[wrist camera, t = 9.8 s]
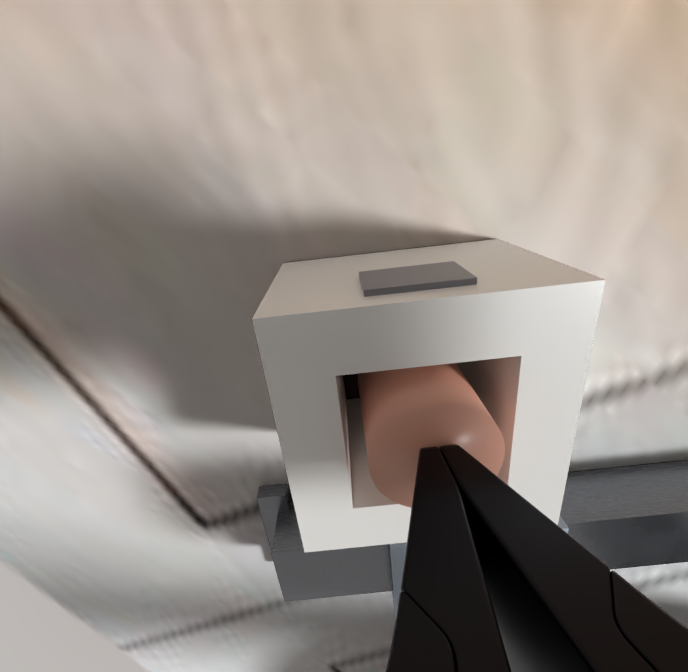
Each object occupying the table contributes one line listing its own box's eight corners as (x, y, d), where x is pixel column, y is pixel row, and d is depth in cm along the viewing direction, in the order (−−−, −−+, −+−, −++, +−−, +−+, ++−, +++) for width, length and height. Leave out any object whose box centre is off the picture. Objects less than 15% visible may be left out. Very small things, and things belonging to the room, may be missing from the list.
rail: (827, 507, 17) (899, 555, 15) (279, 562, 18) (272, 617, 16) (878, 422, 15) (970, 464, 13) (259, 486, 16) (247, 537, 13)
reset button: (454, 413, 12) (499, 502, 9) (362, 422, 12) (373, 515, 9) (456, 328, 11) (510, 395, 7) (353, 340, 11) (362, 411, 7)
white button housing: (486, 416, 14) (557, 527, 10) (313, 434, 15) (304, 552, 10) (498, 234, 12) (606, 272, 7) (281, 258, 12) (250, 312, 7)
